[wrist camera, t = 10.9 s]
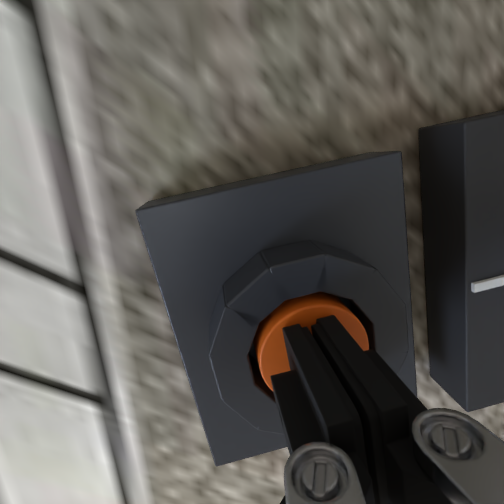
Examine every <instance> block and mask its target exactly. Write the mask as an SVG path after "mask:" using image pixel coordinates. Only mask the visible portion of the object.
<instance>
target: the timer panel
mask: <svg viewBox="0 0 504 504" xmlns="http://www.w3.org/2000/svg"><path fill="white" fill-rule="evenodd" d="M419 150H420V171H421V192H422V213H423V233H424V254H425V275H426V296H427V317H428V337H429V358H430V376H431V377H432V378H433V379H434V380H435V381H436V382H437V383H438V384H439V385H440V386H441V387H442V388H443V389H444V390H445V391H446V392H447V393H448V394H449V395H450V396H451V397H452V398H453V399H454V400H455V401H456V402H457V403H458V404H459V405H460V406H461V407H462V408H463V409H464V410H465V411H467V412H470V411H474V410H477V409H481V408H484V407H488V406H492V405H495V404H499V403H502V402H504V110H501V111H496V112H491V113H487V114H482V115H478V116H473V117H469V118H464V119H459V120H455V121H450V122H446V123H441V124H436V125H432V126H427V127H423V128H420V129H419Z"/></svg>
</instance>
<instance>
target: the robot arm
mask: <svg viewBox="0 0 504 504" xmlns="http://www.w3.org/2000/svg"><path fill="white" fill-rule="evenodd" d="M311 329H312V334H311V332H310V330H309V329H308V327H307V326H306V327H301V326H300V324H295V325H291V326H287V327H283V328H282V331H283V336H284V341H285V346H286V351H287V356H288V361H289V366H290V371H287V372H283V373H279V374H275V375H271V376H270V378H271V383H272V387H273V392H274V396H275V400H276V405H277V409H278V413H279V417H280V420H281V424H282V428H283V431H284V435H285V439H286V442H287V446H288V449H289V453H290V457H289V458H288V460H287V463H286V465H285V469H284V486H285V496H284V498H283V499H282V501H281V503H280V504H504V441H502V440H501V439H500V438H498V437H497V436H496V435H495V434H493V433H492V432H491V431H489V430H488V429H487V428H486V427H484V426H483V425H482V424H480V423H479V422H478V421H476V420H475V419H473V418H471V417H470V416H468V415H466V414H464V413H461V412H458V411H456V410H451V409H446V408H433V409H429V410H427V408H426V407H425V406H424V405H423V404H422V403H421V402H420V401H419V399H418V398H417V397H416V396H415V395H414V394H413V393H412V391H411V390H410V389H409V388H408V387H407V386H406V385H405V384H404V382H403V381H402V380H401V379H400V378H399V377H398V376H397V374H396V373H395V372H394V371H393V370H392V369H391V368H390V367H389V365H388V364H387V363H386V362H385V361H384V360H383V359H382V357H381V356H380V355H379V354H378V353H377V352H376V351H375V350H373V349H370V350H366V351H363V350H362V348H361V347H360V346H359V345H358V343H357V342H356V341H355V340H354V339H353V337H352V336H351V335H350V334H349V332H348V331H347V330H346V329H345V328H344V326H343V325H342V324H341V323H340V321H339V320H338V319H337V318H336V317H335V316H334V315H330V316H327V317H323V318H319V319H316V324H314V325H311Z"/></svg>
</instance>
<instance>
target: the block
mask: <svg viewBox="0 0 504 504" xmlns="http://www.w3.org/2000/svg"><path fill="white" fill-rule="evenodd" d="M136 215H137V219H138V222H139V225H140V228H141V231H142V234H143V238H144V241H145V244H146V247H147V250H148V253H149V257H150V260H151V263H152V266H153V269H154V272H155V276H156V279H157V282H158V285H159V288H160V291H161V295H162V298H163V301H164V304H165V307H166V310H167V314H168V317H169V320H170V323H171V326H172V329H173V333H174V336H175V339H176V342H177V345H178V348H179V352H180V355H181V358H182V361H183V364H184V367H185V371H186V374H187V377H188V380H189V383H190V386H191V390H192V393H193V396H194V399H195V402H196V405H197V409H198V412H199V415H200V418H201V421H202V424H203V428H204V431H205V434H206V437H207V440H208V443H209V447H210V450H211V453H212V456H213V459H214V462H215V465H216V466H220V465H224V464H227V463H231V462H234V461H238V460H242V459H245V458H249V457H252V456H256V455H260V454H263V453H267V452H270V451H274V450H278V449H281V448H285V447H288V446H287V442H286V439H285V435H284V431H283V428H282V424H281V420H280V417H279V413H278V409H277V405H276V400H275V396H274V392H273V391H272V390H271V389H270V388H269V387H268V386H267V384H266V383H265V381H264V379H263V377H262V375H261V372H260V368H259V364H258V360H257V356H256V352H255V348H254V343H253V340H254V337H255V334H256V331H257V329H258V326H259V323H260V322H261V321H262V320H264V319H265V318H266V317H267V316H268V315H269V314H270V313H272V312H273V311H274V310H275V309H276V308H277V307H278V306H280V305H281V304H282V303H283V302H284V301H285V300H289V299H293V298H297V297H301V296H305V295H309V294H313V293H317V292H324V293H328V294H332V295H335V296H337V297H338V298H339V299H340V300H341V301H342V302H343V303H344V304H345V305H346V307H347V308H348V309H349V310H350V311H351V312H352V313H353V314H354V315H355V316H356V317H357V318H358V319H359V321H360V322H361V323H362V325H363V327H364V328H365V330H366V333H367V336H368V342H369V350H370V349H373V350H375V351H376V352H377V353H378V354H379V355H380V356H381V357H382V359H383V360H384V361H385V362H386V363H387V364H388V365H389V367H390V368H391V369H392V370H393V371H394V372H395V373H396V374H397V376H398V377H399V378H400V379H401V380H402V381H403V382H404V384H405V385H406V386H407V387H408V388H409V389H410V390H411V391H412V393H413V394H414V395H415V396H416V397H417V385H416V370H415V354H414V339H413V323H412V307H411V292H410V276H409V260H408V245H407V229H406V213H405V198H404V182H403V167H402V153H401V151H389V152H369V153H365V154H360V155H356V156H351V157H347V158H342V159H338V160H333V161H329V162H324V163H319V164H315V165H310V166H306V167H301V168H297V169H292V170H288V171H283V172H279V173H274V174H270V175H265V176H261V177H256V178H252V179H247V180H242V181H238V182H233V183H229V184H224V185H220V186H215V187H211V188H206V189H202V190H197V191H193V192H188V193H184V194H179V195H175V196H170V197H166V198H161V199H156V200H152V201H148V202H147V203H145V204H144V205H142V206H141V207H140V208H138V209H137V210H136Z"/></svg>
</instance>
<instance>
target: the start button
mask: <svg viewBox="0 0 504 504" xmlns="http://www.w3.org/2000/svg"><path fill="white" fill-rule="evenodd" d="M330 315H334V316H335V317H336V318H337V319H338V320H339V321H340V323H341V324H342V325H343V326H344V328H345V329H346V330H347V331H348V332H349V334H350V335H351V336H352V337H353V339H354V340H355V341H356V342H357V343H358V345H359V346H360V347H361V348H362V350H363V351H366V350H369V342H368V336H367V333H366V330H365V328H364V327H363V325H362V323H361V322H360V321H359V319H358V318H357V317H356V316H355V315H354V314H353V313H352V312H351V311H350V310H349V309H348V308H347V307H346V305H345V304H344V303H343V302H342V301H341V300H340V299H339V298H338V297H337V296H335V295H332V294H328V293H324V292H317V293H313V294H309V295H305V296H301V297H297V298H293V299H289V300H285V301H284V302H283V303H282V304H281V305H280V306H278V307H277V308H276V309H275V310H274V311H273V312H272V313H270V314H269V315H268V316H267V317H266V318H265V319H264V320H262V321H261V322H260V323H259V326H258V329H257V331H256V334H255V337H254V340H253V343H254V348H255V352H256V356H257V360H258V364H259V368H260V372H261V375H262V377H263V379H264V381H265V383H266V384H267V386H268V387H269V388H270V389H271V390H272V391H273V387H272V383H271V378H270V376H271V375H275V374H279V373H283V372H287V371H290V366H289V361H288V356H287V351H286V346H285V341H284V336H283V331H282V328H283V327H287V326H291V325H295V324H300V326H301V327H306V326H307V327H308V329H309V330H310V332H311V334H312V329H311V325H314V324H316V319H319V318H323V317H327V316H330Z"/></svg>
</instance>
